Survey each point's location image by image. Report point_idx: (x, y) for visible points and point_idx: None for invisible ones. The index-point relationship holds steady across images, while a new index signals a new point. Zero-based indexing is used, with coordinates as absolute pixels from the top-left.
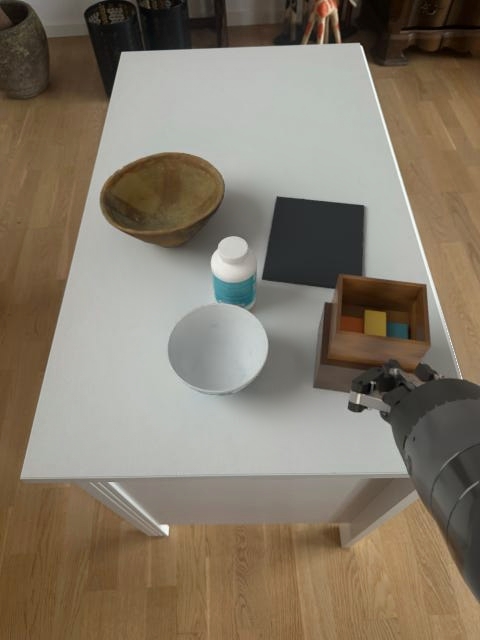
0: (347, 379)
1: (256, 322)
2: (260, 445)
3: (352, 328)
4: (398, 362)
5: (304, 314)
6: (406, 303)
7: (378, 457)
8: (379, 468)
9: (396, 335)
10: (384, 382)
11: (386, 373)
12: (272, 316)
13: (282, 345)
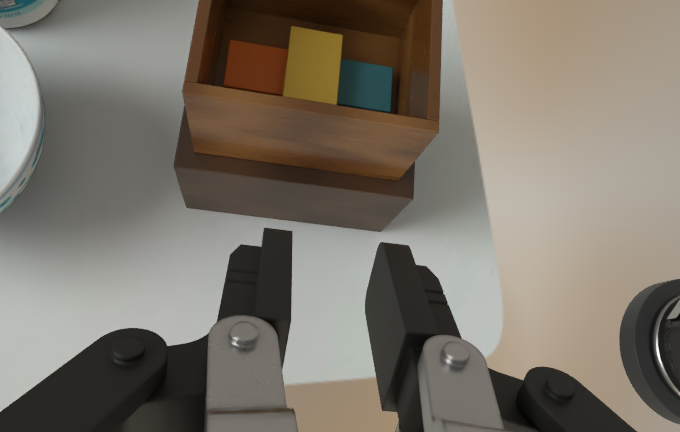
0: (252, 196)
1: (16, 50)
2: (48, 351)
3: (258, 74)
4: (291, 252)
5: (180, 34)
6: (394, 14)
7: (316, 357)
8: (316, 381)
9: (364, 95)
10: (164, 419)
11: (199, 345)
12: (102, 37)
13: (121, 108)
